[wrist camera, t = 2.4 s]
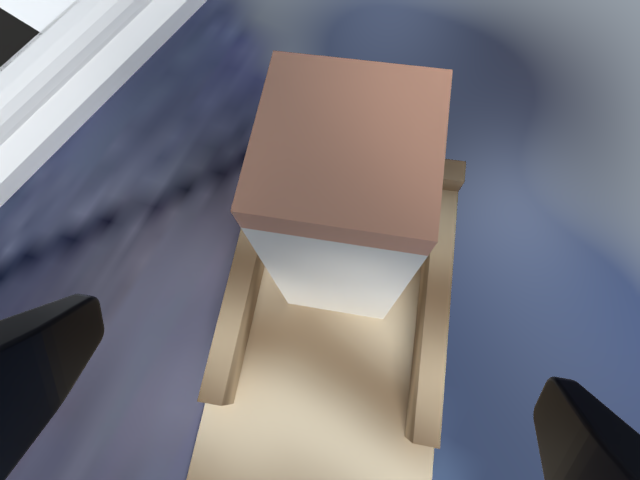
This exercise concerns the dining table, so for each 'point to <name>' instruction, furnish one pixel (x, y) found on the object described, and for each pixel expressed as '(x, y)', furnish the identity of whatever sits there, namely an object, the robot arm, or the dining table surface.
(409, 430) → the tray
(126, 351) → the dining table surface
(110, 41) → the chess set
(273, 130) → the block
